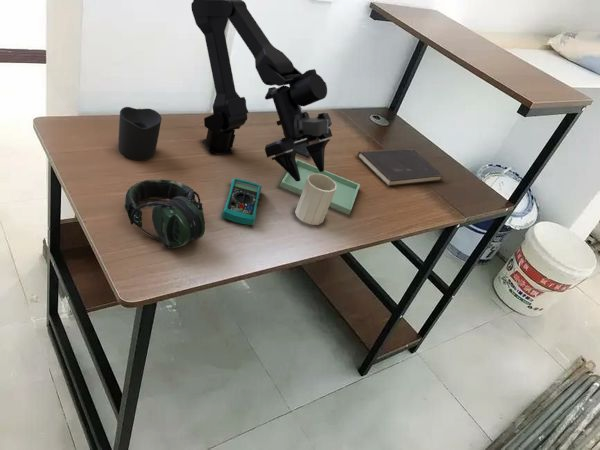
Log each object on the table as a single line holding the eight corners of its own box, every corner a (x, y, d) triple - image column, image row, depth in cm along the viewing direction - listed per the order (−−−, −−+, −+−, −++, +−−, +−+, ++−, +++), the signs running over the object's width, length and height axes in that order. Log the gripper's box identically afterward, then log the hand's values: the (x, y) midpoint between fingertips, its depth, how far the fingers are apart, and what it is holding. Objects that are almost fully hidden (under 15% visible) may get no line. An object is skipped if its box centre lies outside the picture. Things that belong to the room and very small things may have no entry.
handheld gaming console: (316, 156, 148) (304, 124, 144) (292, 164, 150) (280, 132, 146) (318, 143, 159) (307, 113, 155) (296, 151, 160) (284, 121, 156)
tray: (279, 188, 133) (281, 181, 132) (293, 164, 145) (296, 158, 143) (348, 216, 132) (351, 210, 131) (357, 190, 144) (360, 184, 142)
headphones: (234, 214, 109) (171, 177, 118) (203, 187, 97) (137, 148, 106) (197, 267, 107) (136, 225, 116) (162, 246, 95) (97, 201, 104)
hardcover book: (440, 181, 163) (443, 175, 162) (387, 187, 150) (390, 180, 149) (408, 153, 173) (411, 147, 171) (356, 156, 160) (359, 150, 158)
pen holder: (142, 166, 123) (147, 130, 117) (108, 151, 124) (111, 114, 118) (163, 151, 131) (168, 116, 125) (130, 137, 131) (134, 101, 126)
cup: (300, 226, 123) (313, 190, 117) (290, 207, 128) (303, 172, 122) (326, 226, 126) (341, 192, 120) (316, 208, 131) (330, 174, 125)
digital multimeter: (220, 220, 116) (223, 210, 114) (231, 185, 128) (233, 175, 126) (252, 228, 117) (255, 218, 115) (259, 193, 129) (262, 183, 127)
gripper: (288, 108, 108) (311, 179, 110) (339, 96, 121) (359, 160, 124) (253, 122, 116) (275, 189, 118) (305, 110, 129) (324, 169, 131)
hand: (310, 176), depth 122 cm, fingers open, 9 cm apart
